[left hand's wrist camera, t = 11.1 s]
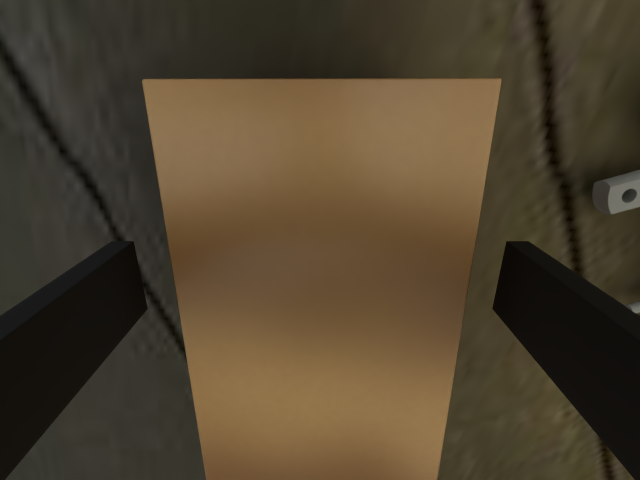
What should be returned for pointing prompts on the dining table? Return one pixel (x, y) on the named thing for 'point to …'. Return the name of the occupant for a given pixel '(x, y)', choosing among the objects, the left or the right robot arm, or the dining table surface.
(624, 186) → the clamp
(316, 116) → the wide beam
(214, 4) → the dining table surface
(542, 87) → the dining table surface
